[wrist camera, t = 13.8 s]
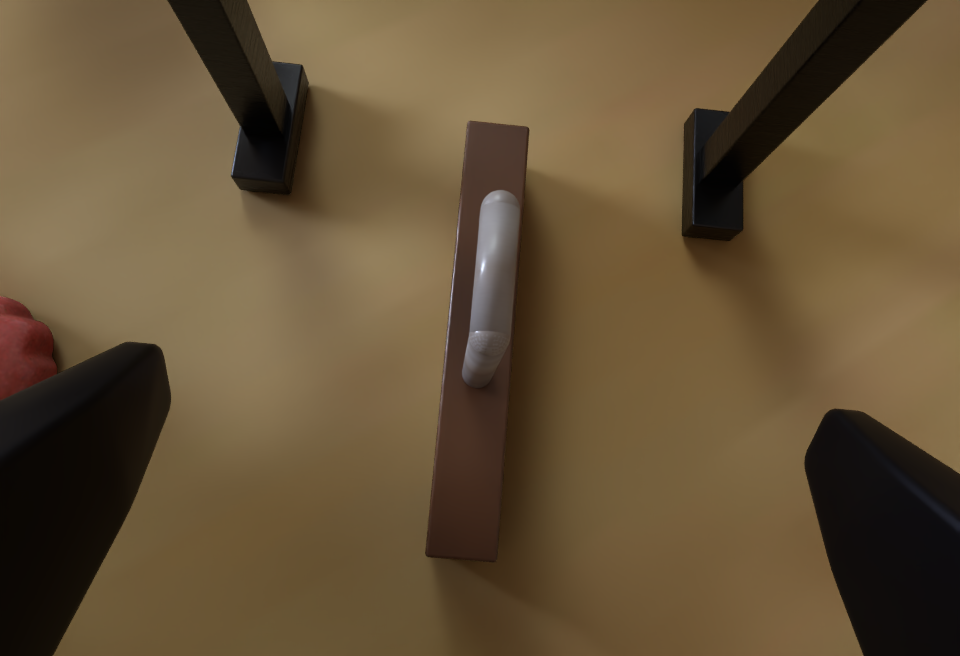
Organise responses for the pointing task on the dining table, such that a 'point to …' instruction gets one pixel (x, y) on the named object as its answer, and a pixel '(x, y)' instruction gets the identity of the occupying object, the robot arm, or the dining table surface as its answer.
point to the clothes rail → (707, 133)
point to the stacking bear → (23, 349)
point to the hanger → (479, 347)
